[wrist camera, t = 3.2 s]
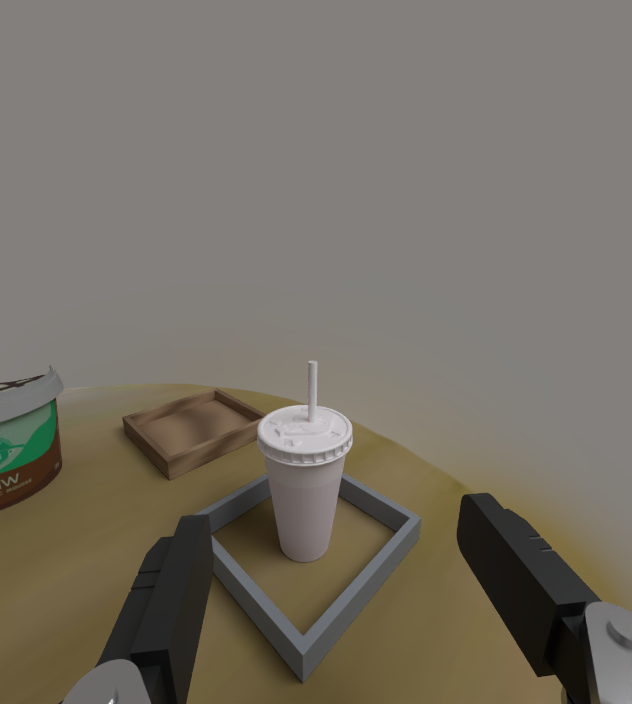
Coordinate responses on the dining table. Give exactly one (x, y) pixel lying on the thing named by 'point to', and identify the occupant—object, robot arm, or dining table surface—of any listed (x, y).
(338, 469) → the smoothie
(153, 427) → the walnut tray
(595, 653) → the robot arm
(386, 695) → the dining table surface
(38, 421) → the food container
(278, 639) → the grey square frame
